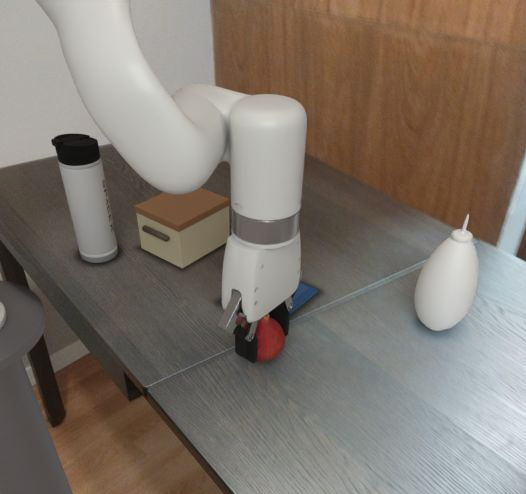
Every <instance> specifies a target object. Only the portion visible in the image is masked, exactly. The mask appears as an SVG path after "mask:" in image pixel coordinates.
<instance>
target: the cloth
mask: <svg viewBox="0 0 526 494" xmlns="http://www.w3.org/2000/svg"><path fill="white" fill-rule="evenodd" d="M318 293H319V290H318V289H317V288H315V287H313V286H309V285H306V284H305V283H302V282H301V281H300V282H299V284H298V287H297V290H296V293H295V295H294V296H293V298H292V301H293V307H292V308H291V310H289V311H288V312H290V315H291V314H292V313H294V312H295V311H296V310H298V309H299V308H300V307H301V306H302V305H304V304H305V303H306V302H308V301H309V300H310V299H311V298H313V297H314V296H315V295H316V294H318ZM219 303H220V304H222V299H221V300H220V301H219Z"/></svg>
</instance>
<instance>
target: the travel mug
mask: <svg viewBox="0 0 526 494" xmlns="http://www.w3.org/2000/svg"><path fill="white" fill-rule="evenodd" d="M50 141H51V145H52V146H53V147H54V148H55V152H56V153H55V154H56V158H57V163H58V167H59V171H60V177H61V180H62V184H63V188H64V192H65V196H66V200H67V205H68V209H69V213H70V217H71V221H72V225H73V226H72V227H73V231H74V234H75V239H76V242H77V247H78V251H79V256H80V257H81V259H82V260H83V261H85V262H87V263H91V264H102V263H106V262H110V261H111V260H113V259H115V258H116V256H118V253H119V247H118V243H117V237H116V232H115V225H114V221H113V214H112V209H111V204H110V199H109V193H108V187H107V182H106V176H105V172H104V165H103V160H102V155H101V152H100V146H99V140H98V139H97V138H94V137H92V136H91V135H89V134H85V133H62V134H58V135H55V136H54V137H53V138H52V139H51V140H50Z"/></svg>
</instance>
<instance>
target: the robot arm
mask: <svg viewBox="0 0 526 494" xmlns="http://www.w3.org/2000/svg"><path fill="white" fill-rule="evenodd" d="M35 2H36V3H37V5H38V6H39V7H40V8H41V9H42V11H43V12H44V14H46V16H47V17H48V19H49V20H50V21H51V23H52V24H53V26H54V28H55V30H56V33H57V36H58V39H59V43H60V47H61V51H62V54H63V57H64V60H65V63H66V65H67V69H68V71H69V73H70V75H71V79H72V80H73V84H74V87H75V88H76V90H77V93H78V95H79V98H80V100H81V102H82V104H83V106H84V107H85V109H86V112H87V113H88V115H89V116H90V118H91V119H92V121H93V123H94V124H95V125H96V126H97V128H98V129H99V130H100V131H101V133H102V135H104V137H105V139H107V140H108V142H109V144H111V145H112V146H113V148H114V149H115V150H116V151H117V152H118V153H119V155H120V156H121V158H122V159H124V160H125V162H126V163H127V164H128V165H129V166H130V168H132V170H133V171H134V172H135V173H136V174H137V175H138V176H139V177H141V179H143V180H144V181H145V182H146V183H148V184H149V185H150V186H151V187H153V188H155V189H157V190H158V191H161V192H162V193H164V192H166V193H169V194H175V195H183V194H187V193H191V192H193V191H195V190H197V189H199V188H202V187H203V186H204V185H205V184H206V182H208V180H209V179H210V177H211V176H212V175H213V173H214V172H215V171H216V169H217V167H218V165H219V164H221V163H223V162H226V163H227V164H228V165H229V171H230V172H229V173H230V174H229V175H230V176H229V177H230V218H231V221H230V222H231V225H230V226H231V227H230V228H231V229H230V230H231V234H230V236H229V237H228V239H227V242H226V243H225V249H224V254H223V261H222V273H221V275H222V276H221V300H222V303H221V306H222V310H223V311H224V312H223V313H222V315H221V317H220V319H219V322H218V323H217V328H218V329H220V330H221V331H223V332H225V333H228V334H230V335H233V336H234V352H235V354H236V355H237V356H238V357H241V358H242V359H244V360H246V361H248V362H250V363H252V364H255V363H256V362H258V361H257V342H258V339H257V337H256V336H254V334H255V331H256V327H257V323H258V320H259V319H261V318H262V317H263V316H265V315H266V314H269V315H270V316H269V317H271V318H273V319H275V320H276V321H277V322H278V323H279V324H280V325H281V327H282V329H283V332H284V334H285V338H286V337H287V336H288V335H289V330H290V318H291V317H290V316H291V314H290V312H288V311H289V310H291V308H292V307H293V301H292V298H293V296H294V295H295V293H296V290H297V287H298V284H299V282H300V283H301V280H302V278H303V276H304V270H302V269H301V265H302V264H301V263H302V262H301V261H302V246H301V244H302V243H301V232H300V231H301V230H300V228H301V227H300V226H301V225H300V224H301V213H302V212H301V211H302V199H303V198H302V196H303V184H304V183H303V182H304V171H305V160H306V159H305V158H306V157H305V156H306V145H307V133H308V130H307V129H308V116H307V112H306V109H305V107H304V106H303V104H302V103H301V102H300V101H298V100H296V99H294V98H293V97H289V96H286V95H282V94H275V93H259V94H253V95H252V94H247V93H243V92H240V91H235V90H233V89H232V90H231V89H227V88H225V87H221V86H217V85H214V84H209V83H203V82H202V83H201V82H199V83H198V82H196V83H195V82H194V83H189V84H186V85H183V86H182V87H180V88H179V89H177V90H176V91H175V92H174V93H173V94H172V95H171V93H169V91H167V90H168V89H166V87H165V86H164V85H163V84H162V82H161V80H160V79H159V77H158V76H157V74H156V73H155V71H154V70H153V68H152V66H151V65H150V63H149V61H148V60H147V58H146V55H145V53H144V51H143V50H142V47H141V45H140V41H139V39H138V37H137V34H136V30H135V27H134V23H133V18H132V9H131V0H35ZM6 317H7V313H6V310H5V307H4V305H3V304H2V302H1V301H0V329H1V328H2V327H3V325H4V323H5V321H6ZM243 320H246V323H247V322H249V323H248V327H247V329H246V328H244V326H242V323H243Z"/></svg>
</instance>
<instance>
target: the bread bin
mask: <svg viewBox="0 0 526 494" xmlns="http://www.w3.org/2000/svg"><path fill="white" fill-rule="evenodd" d="M230 206H231V198H229V197H226V196H223V195H221V194H218V193H216V192H213V191H210V190H208V189H205V188H203V187H200V188H199V189H197V190H195V191H193V192H191V193H187V194H183V195H175V194H169V193H166V192H162V193H160V194H157V195H155V196H153V197H151V198H149V199H146V200H144V201H142V202H140V203H138V204H135V205H134V212H135V213H136V220H137V225H138V226H137V227H138V234H139V241H140V248H141V249H142V250H144V251H146V252H148V253H150V254H152V255H154V256H156V257H159V258H160V259H163V260H164V261H167V262H168V263H171V264H172V265H174V266H176V267H178V268H180V269H184V268H186V267H187V266H189V265H191V264H193V263H195V262H196V261H198V260H199V259H201V258H203V257H205V256H206V255H208V254H209V253H211V252H213V251H215V250H216V249H219V248H220V247H221V246H223V245H226V243H227V239H228V237H229V236H230V235H231V231H230V230H231V229H230V228H231V227H230V226H231V225H230Z"/></svg>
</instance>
